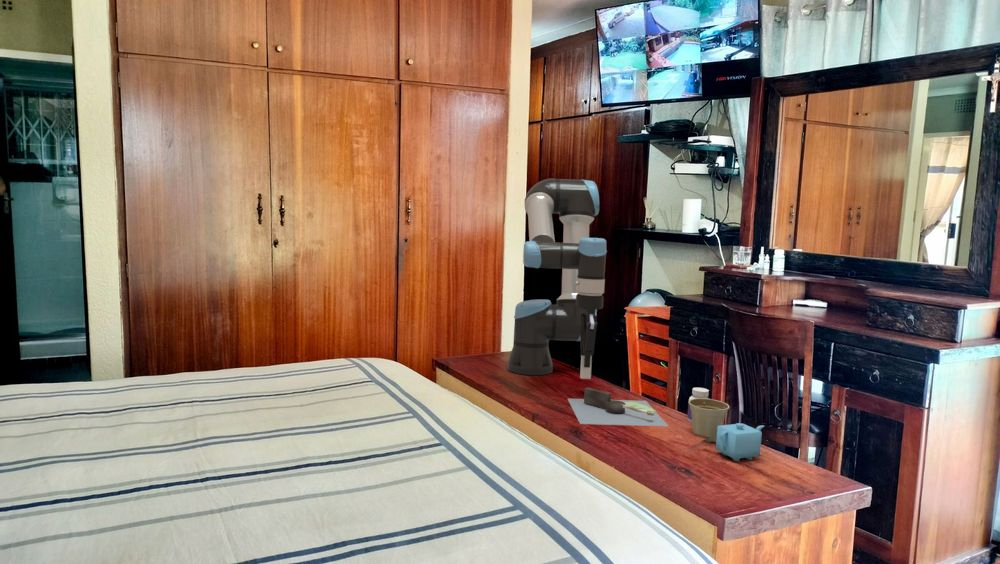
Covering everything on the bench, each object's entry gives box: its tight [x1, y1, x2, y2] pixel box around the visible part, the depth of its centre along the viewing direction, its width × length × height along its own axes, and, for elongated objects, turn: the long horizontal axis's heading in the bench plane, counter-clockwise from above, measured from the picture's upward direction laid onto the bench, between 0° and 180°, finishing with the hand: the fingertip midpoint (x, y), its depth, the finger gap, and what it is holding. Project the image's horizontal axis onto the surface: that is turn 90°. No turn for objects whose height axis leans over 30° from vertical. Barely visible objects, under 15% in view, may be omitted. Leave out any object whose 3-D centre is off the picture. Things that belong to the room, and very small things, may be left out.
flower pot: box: [688, 398, 730, 443], centre depth 163 cm, size 9×9×9 cm
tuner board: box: [567, 398, 670, 427], centre depth 177 cm, size 22×22×2 cm
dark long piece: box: [583, 387, 654, 416], centre depth 176 cm, size 21×5×4 cm, turn 48°
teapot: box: [715, 422, 765, 462], centre depth 152 cm, size 12×6×8 cm, turn 111°
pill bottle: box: [686, 387, 710, 424], centre depth 171 cm, size 5×5×10 cm
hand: (585, 377), depth 188 cm, fingers closed
